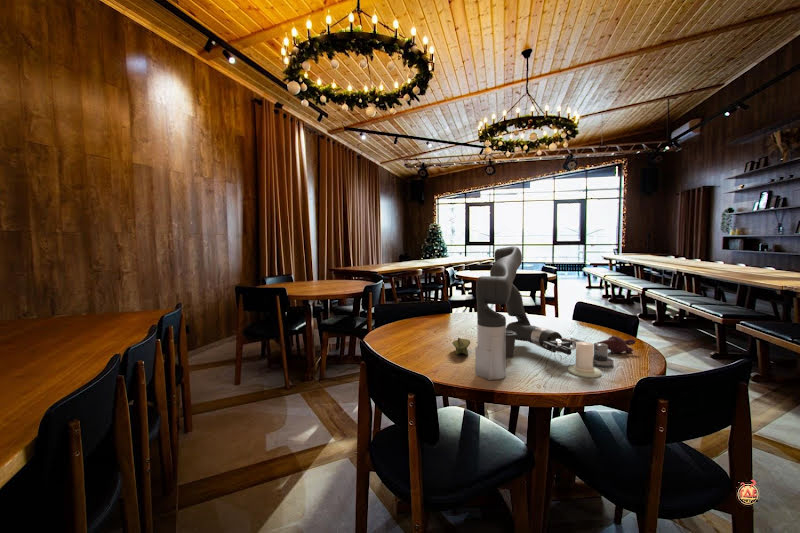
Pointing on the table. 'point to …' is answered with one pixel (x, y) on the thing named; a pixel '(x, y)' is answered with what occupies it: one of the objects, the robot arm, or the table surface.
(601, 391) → the table surface
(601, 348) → the dark grey stepped piece
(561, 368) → the table surface
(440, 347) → the table surface
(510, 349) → the coffee cup
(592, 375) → the coaster
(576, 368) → the cream white cylinder
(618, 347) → the brown turtle figurine
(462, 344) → the fruit
